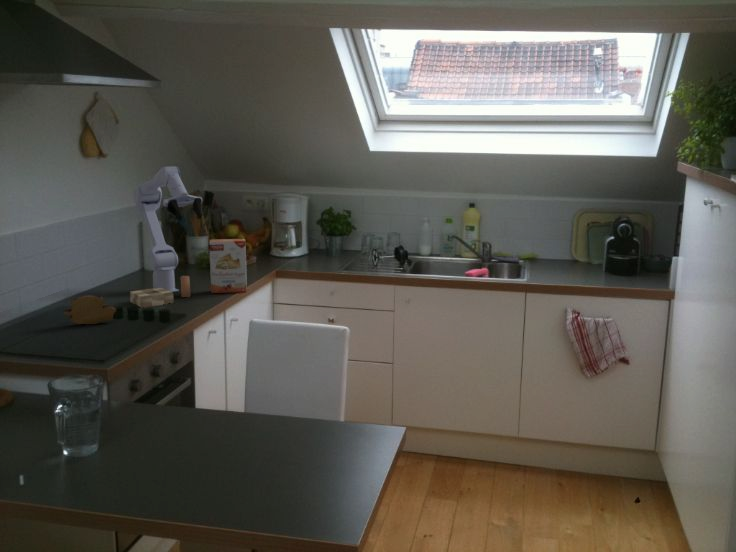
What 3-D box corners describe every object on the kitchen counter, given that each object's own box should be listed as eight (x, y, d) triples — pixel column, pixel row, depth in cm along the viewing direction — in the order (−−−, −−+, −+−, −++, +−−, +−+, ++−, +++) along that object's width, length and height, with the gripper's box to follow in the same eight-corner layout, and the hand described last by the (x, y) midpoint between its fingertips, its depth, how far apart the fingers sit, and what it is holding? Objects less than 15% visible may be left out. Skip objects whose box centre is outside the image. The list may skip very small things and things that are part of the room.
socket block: (130, 301, 280) (129, 291, 279) (161, 297, 287) (160, 287, 286) (142, 307, 270) (141, 297, 269) (173, 303, 277) (173, 292, 277)
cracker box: (211, 294, 293) (208, 241, 289) (211, 290, 298) (209, 239, 294) (247, 292, 295) (245, 240, 291) (247, 289, 301) (245, 238, 297)
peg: (180, 296, 288) (179, 276, 286) (188, 295, 290) (187, 275, 288) (183, 298, 285) (182, 277, 284) (192, 297, 287) (191, 276, 286)
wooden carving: (116, 320, 253) (114, 291, 251) (117, 323, 249) (115, 293, 247) (64, 325, 247) (61, 295, 245) (64, 328, 242) (62, 298, 241)
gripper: (161, 184, 270) (174, 211, 263) (198, 182, 278) (212, 208, 272) (157, 198, 274) (169, 225, 268) (194, 196, 283) (207, 222, 277)
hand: (190, 217), depth 270 cm, fingers open, 7 cm apart
